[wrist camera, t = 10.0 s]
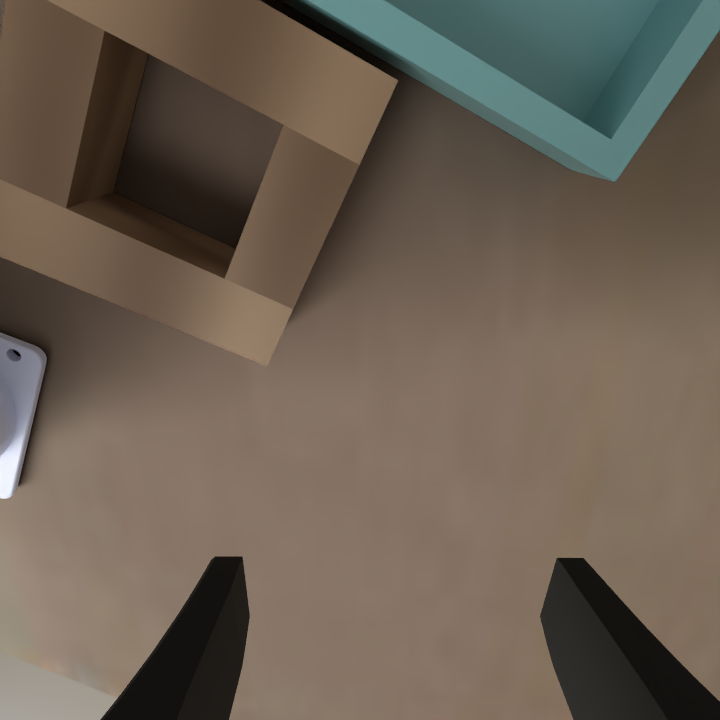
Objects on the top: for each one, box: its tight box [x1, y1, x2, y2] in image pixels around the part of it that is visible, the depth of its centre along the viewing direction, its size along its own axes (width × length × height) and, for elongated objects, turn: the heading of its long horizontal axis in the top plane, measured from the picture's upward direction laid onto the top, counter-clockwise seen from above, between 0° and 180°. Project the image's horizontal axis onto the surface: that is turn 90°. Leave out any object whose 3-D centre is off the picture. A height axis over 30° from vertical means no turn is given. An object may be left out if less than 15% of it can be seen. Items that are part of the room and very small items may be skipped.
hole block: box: [0, 0, 398, 366], centre depth 14 cm, size 9×9×3 cm
